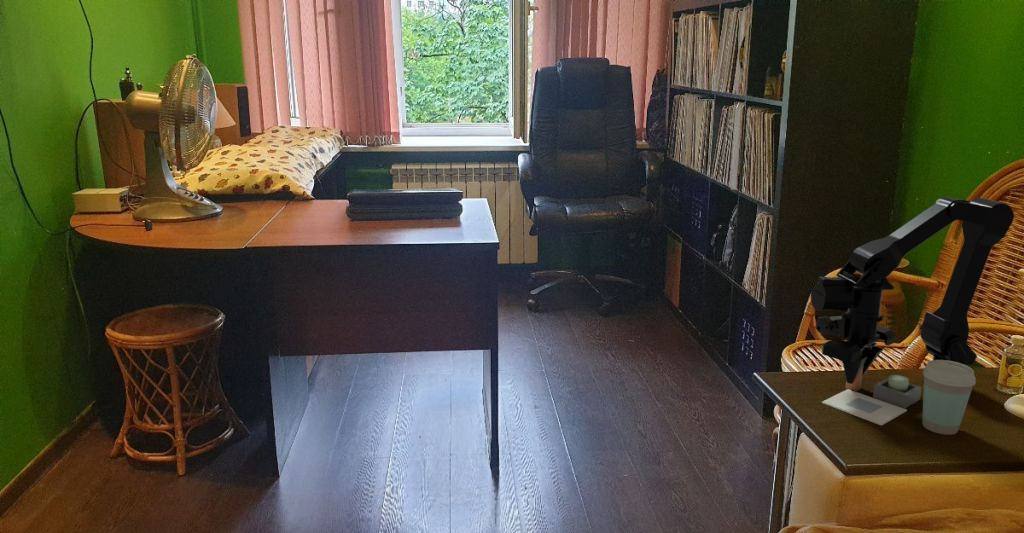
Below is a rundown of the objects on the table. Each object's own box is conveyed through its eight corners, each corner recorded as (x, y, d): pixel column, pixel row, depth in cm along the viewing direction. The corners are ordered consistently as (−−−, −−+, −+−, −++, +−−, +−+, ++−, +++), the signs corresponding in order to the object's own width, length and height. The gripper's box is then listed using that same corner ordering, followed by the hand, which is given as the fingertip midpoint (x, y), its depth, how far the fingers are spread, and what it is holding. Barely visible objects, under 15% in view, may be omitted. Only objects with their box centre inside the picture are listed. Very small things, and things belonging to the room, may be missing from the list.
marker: (849, 383, 162) (854, 352, 160) (862, 388, 159) (867, 357, 158) (842, 387, 160) (846, 355, 158) (855, 392, 158) (860, 360, 156)
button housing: (887, 389, 159) (889, 376, 158) (919, 400, 154) (921, 387, 154) (872, 397, 155) (874, 384, 155) (904, 408, 151) (906, 395, 150)
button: (892, 384, 157) (894, 373, 156) (910, 390, 154) (912, 379, 153) (884, 388, 155) (885, 377, 154) (902, 394, 152) (904, 383, 151)
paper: (847, 390, 158) (847, 388, 158) (906, 411, 149) (907, 409, 149) (821, 403, 152) (822, 401, 152) (881, 425, 143) (882, 423, 143)
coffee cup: (973, 440, 138) (985, 379, 135) (921, 435, 140) (932, 374, 137) (956, 419, 146) (967, 360, 143) (908, 415, 148) (918, 356, 145)
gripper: (849, 291, 167) (840, 359, 171) (802, 308, 155) (793, 379, 160) (901, 304, 158) (890, 375, 163) (855, 322, 147) (844, 398, 151)
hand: (853, 381), depth 159 cm, fingers closed on marker, 3 cm apart
